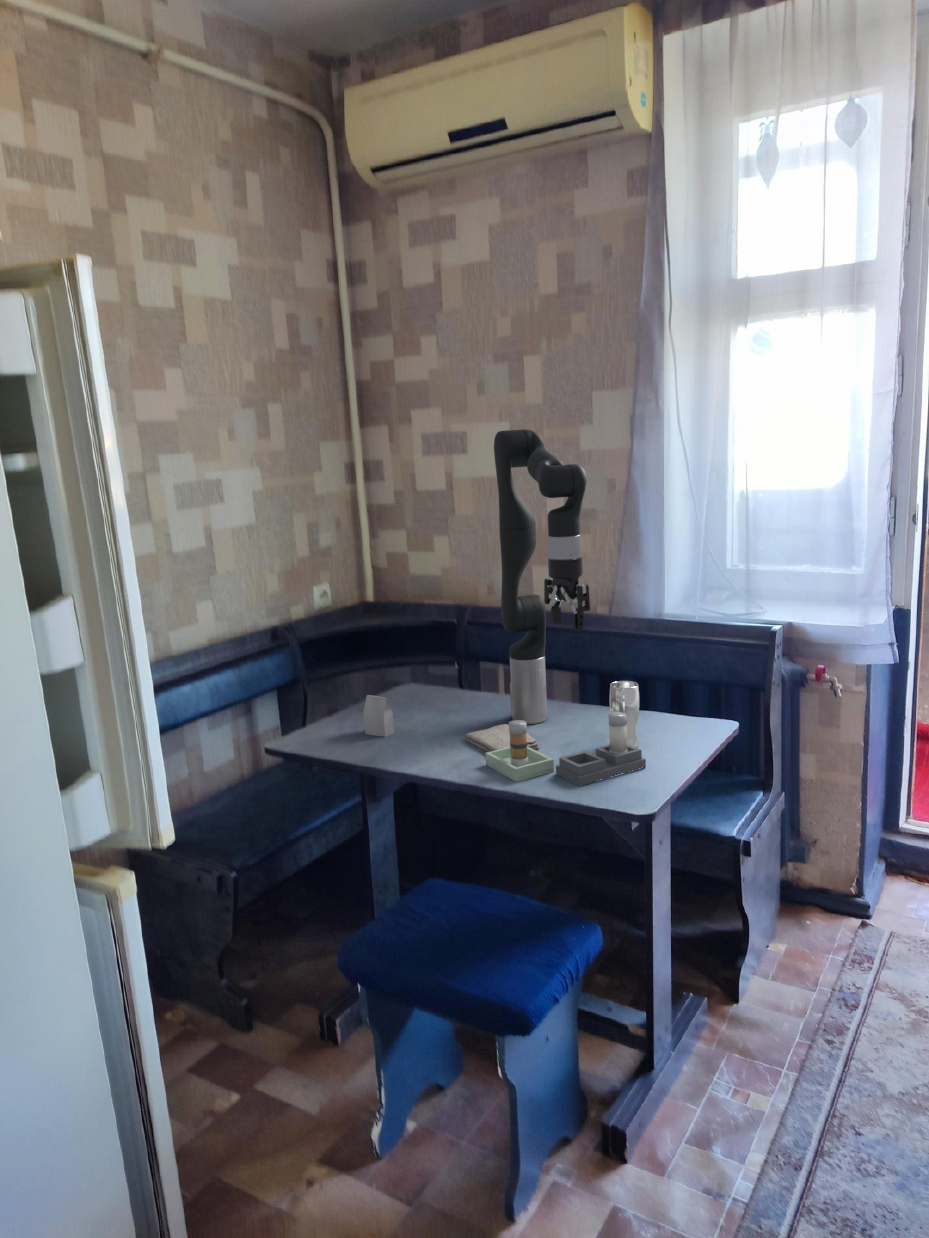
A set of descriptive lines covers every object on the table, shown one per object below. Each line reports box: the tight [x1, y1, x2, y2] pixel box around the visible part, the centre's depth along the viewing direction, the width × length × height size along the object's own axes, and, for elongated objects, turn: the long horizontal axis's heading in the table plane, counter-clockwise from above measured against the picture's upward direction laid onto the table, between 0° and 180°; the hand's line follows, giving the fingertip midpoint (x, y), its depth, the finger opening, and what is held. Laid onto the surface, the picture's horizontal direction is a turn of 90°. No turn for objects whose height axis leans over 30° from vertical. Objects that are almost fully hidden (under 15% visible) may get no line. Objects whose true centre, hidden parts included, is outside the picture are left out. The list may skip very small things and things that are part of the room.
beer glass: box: [609, 680, 640, 748], centre depth 216 cm, size 7×7×15 cm
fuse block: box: [555, 743, 647, 786], centre depth 201 cm, size 9×18×4 cm, turn 119°
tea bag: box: [362, 694, 395, 738], centre depth 235 cm, size 4×7×10 cm, turn 56°
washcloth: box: [464, 723, 540, 753], centre depth 222 cm, size 12×18×3 cm, turn 30°
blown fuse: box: [508, 720, 528, 767], centre depth 205 cm, size 4×4×10 cm
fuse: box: [608, 712, 628, 755], centre depth 202 cm, size 4×4×10 cm
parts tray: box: [485, 746, 555, 782], centre depth 206 cm, size 13×10×3 cm
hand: (567, 626), depth 205 cm, fingers open, 8 cm apart
